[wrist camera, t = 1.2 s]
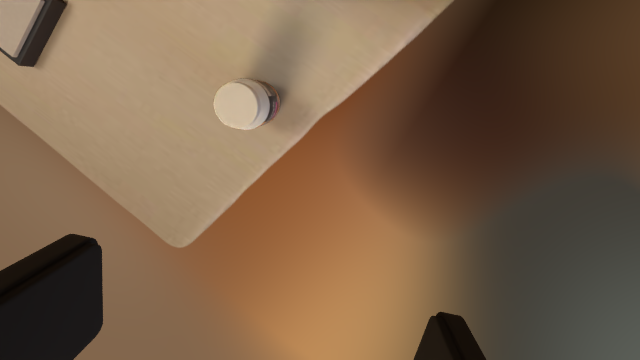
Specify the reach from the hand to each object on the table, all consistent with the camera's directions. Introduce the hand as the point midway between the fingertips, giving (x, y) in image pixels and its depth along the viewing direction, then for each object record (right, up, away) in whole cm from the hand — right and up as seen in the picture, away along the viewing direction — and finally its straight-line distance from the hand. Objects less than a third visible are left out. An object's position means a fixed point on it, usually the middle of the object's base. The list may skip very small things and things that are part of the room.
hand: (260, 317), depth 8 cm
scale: (-38, +26, +30) cm, 55 cm away
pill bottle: (-6, +14, +32) cm, 36 cm away
